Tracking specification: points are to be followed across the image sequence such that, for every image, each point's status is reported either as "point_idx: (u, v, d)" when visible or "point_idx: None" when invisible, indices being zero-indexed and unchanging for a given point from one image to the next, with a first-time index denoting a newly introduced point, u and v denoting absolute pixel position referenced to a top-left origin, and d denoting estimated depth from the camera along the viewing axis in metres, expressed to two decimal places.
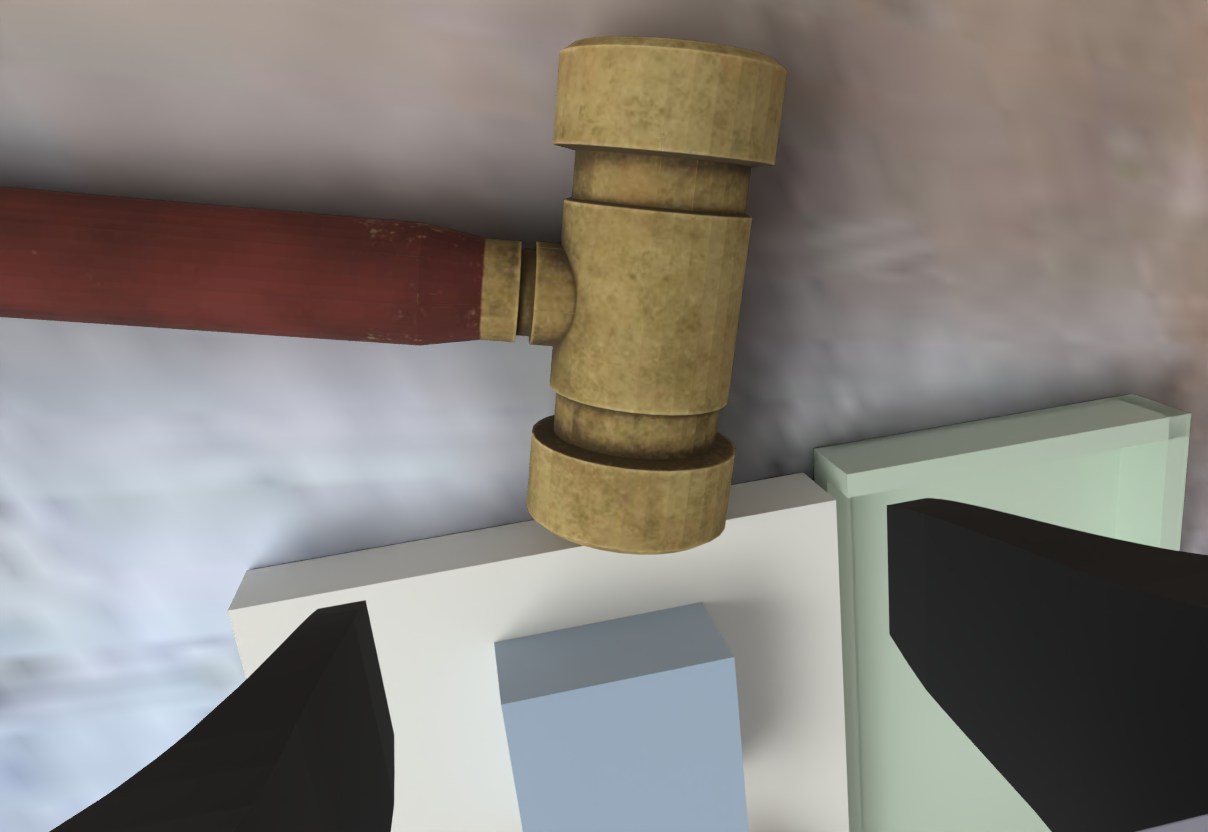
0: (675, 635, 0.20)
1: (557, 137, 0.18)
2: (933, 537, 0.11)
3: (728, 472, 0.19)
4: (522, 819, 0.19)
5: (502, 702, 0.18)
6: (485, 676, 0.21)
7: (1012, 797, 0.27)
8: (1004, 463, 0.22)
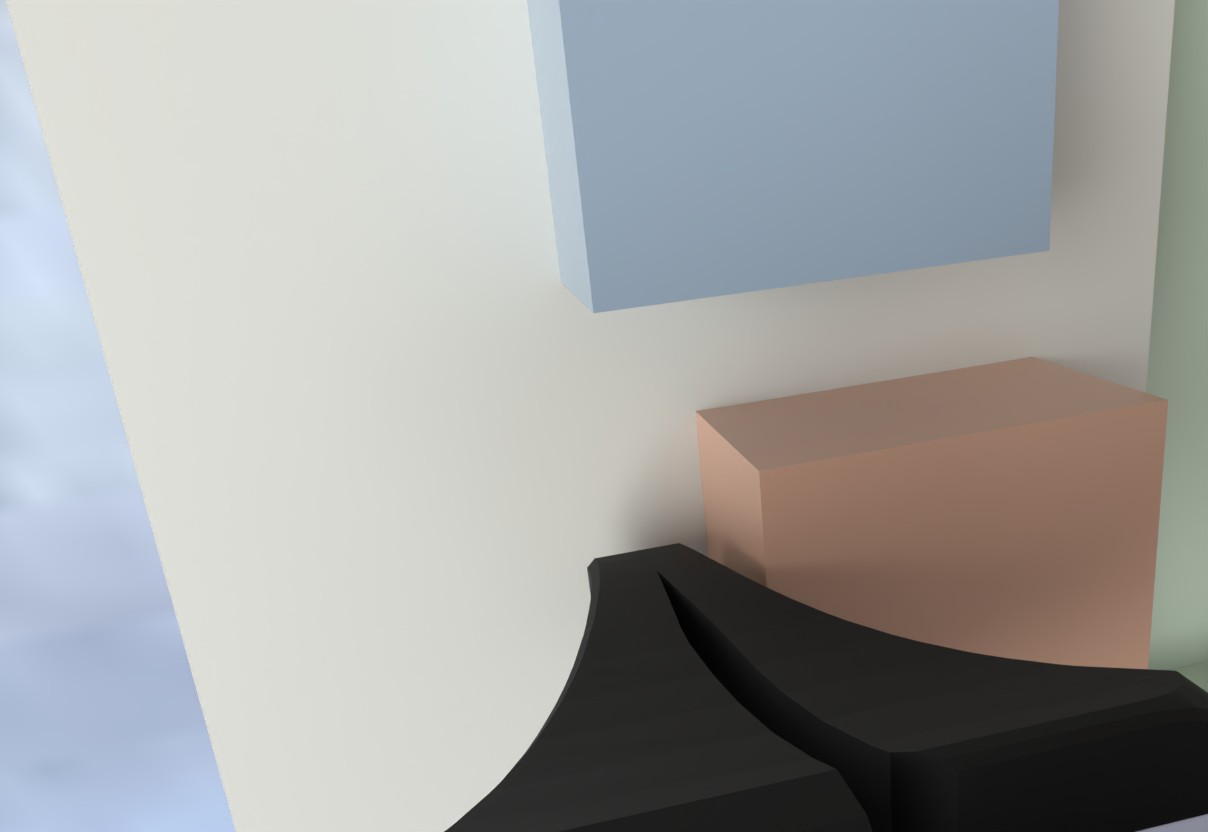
0: None
1: None
2: None
3: None
4: (572, 90, 0.08)
5: None
6: None
7: None
8: None
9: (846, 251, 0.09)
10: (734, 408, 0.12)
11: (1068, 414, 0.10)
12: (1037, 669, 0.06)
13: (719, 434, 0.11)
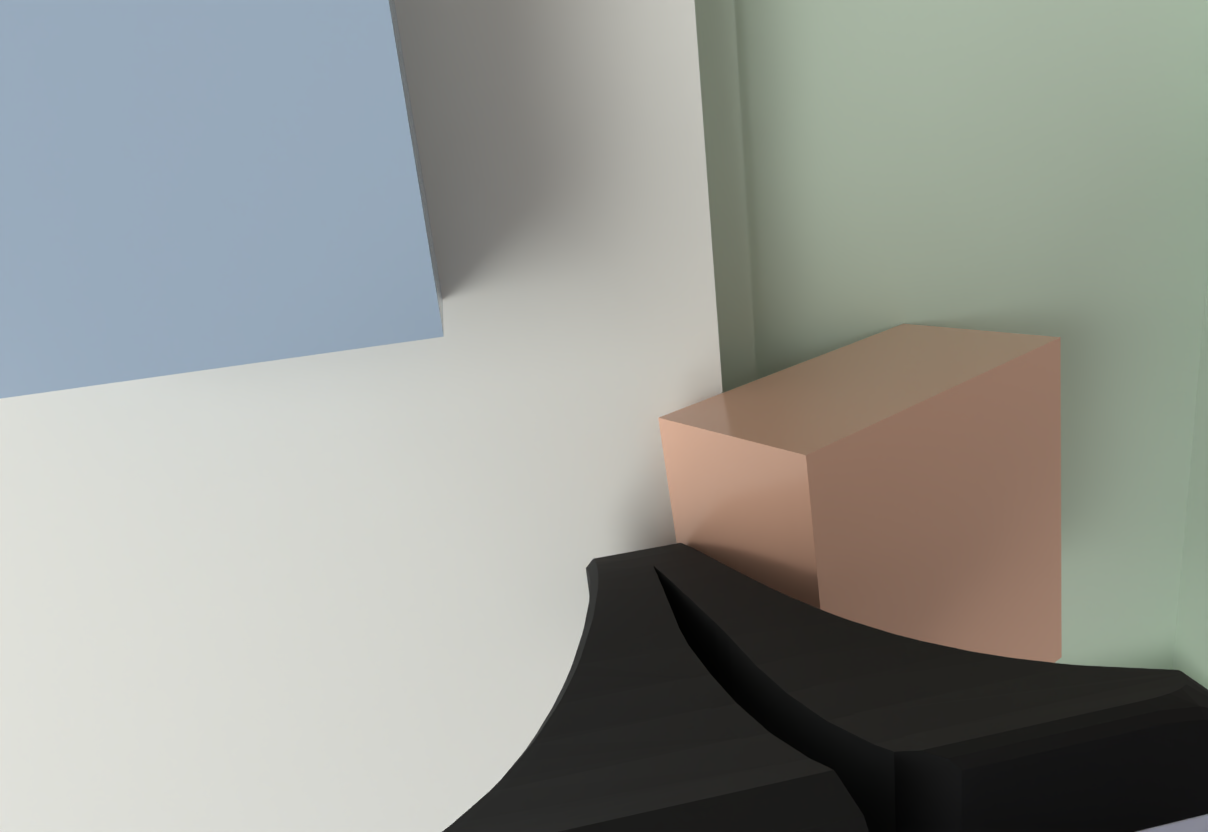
0: None
1: None
2: None
3: None
4: None
5: None
6: None
7: None
8: None
9: (189, 342, 0.08)
10: (695, 408, 0.11)
11: (1002, 360, 0.11)
12: (1040, 668, 0.06)
13: (714, 432, 0.10)
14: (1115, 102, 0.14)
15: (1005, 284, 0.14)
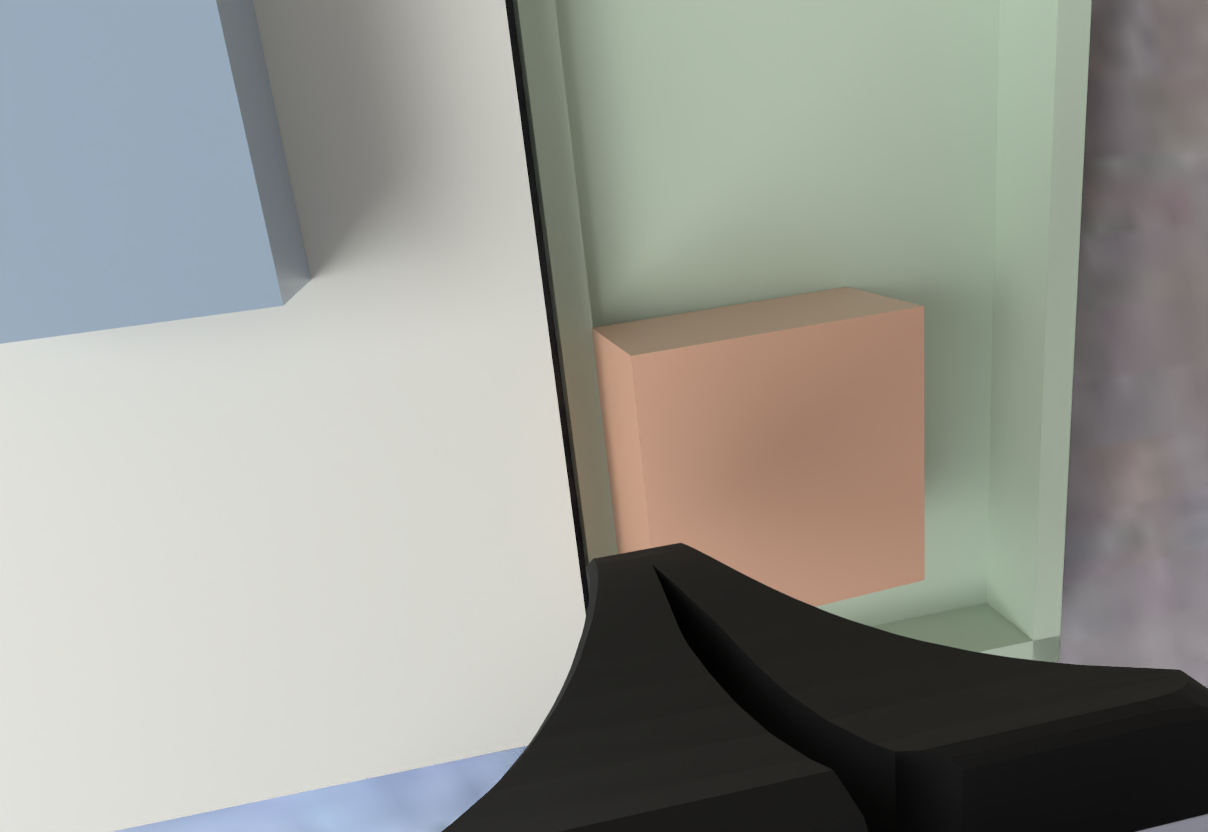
0: None
1: None
2: None
3: None
4: None
5: None
6: None
7: None
8: None
9: (83, 309, 0.11)
10: (620, 325, 0.16)
11: (853, 316, 0.14)
12: (1040, 668, 0.06)
13: (607, 339, 0.15)
14: (901, 113, 0.16)
15: (813, 267, 0.17)
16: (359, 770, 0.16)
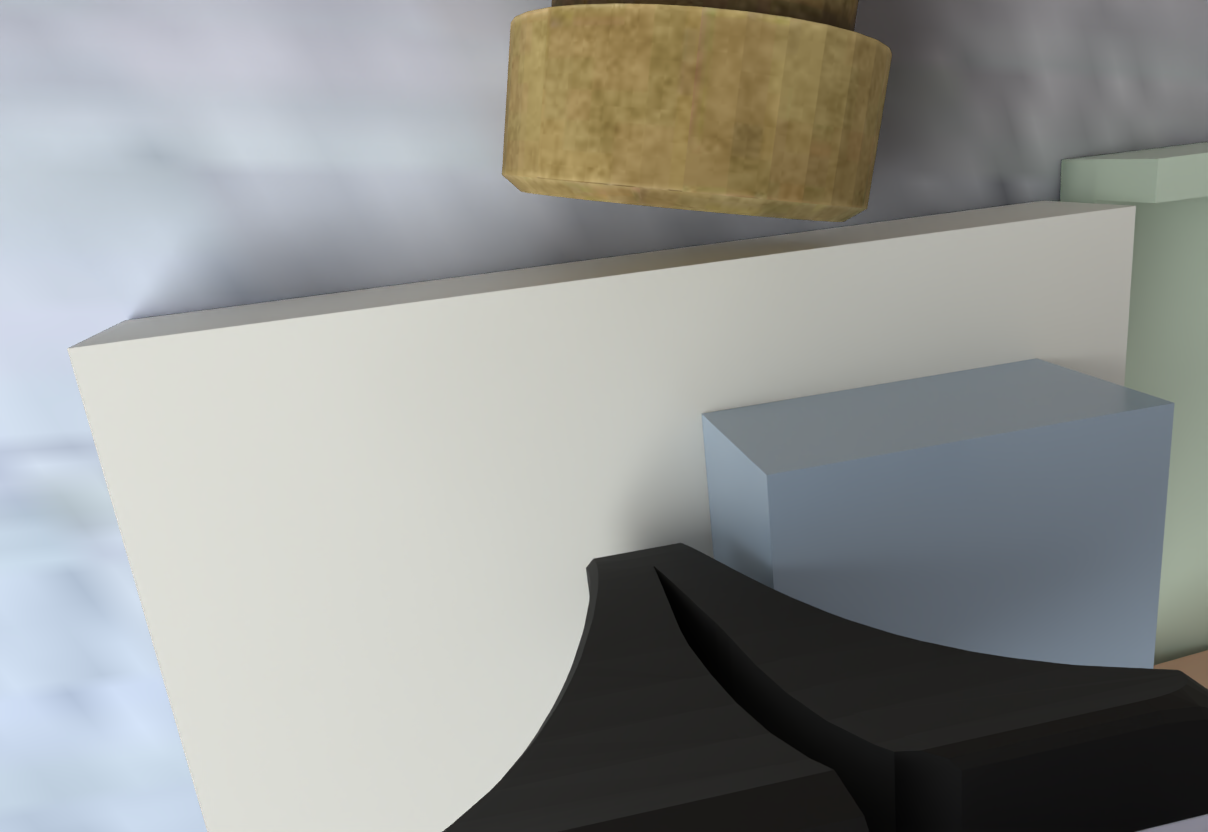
0: (1029, 389, 0.11)
1: None
2: None
3: (884, 76, 0.10)
4: None
5: (766, 472, 0.10)
6: (534, 499, 0.12)
7: None
8: None
9: None
10: None
11: None
12: (1040, 668, 0.06)
13: None
14: None
15: None
16: None
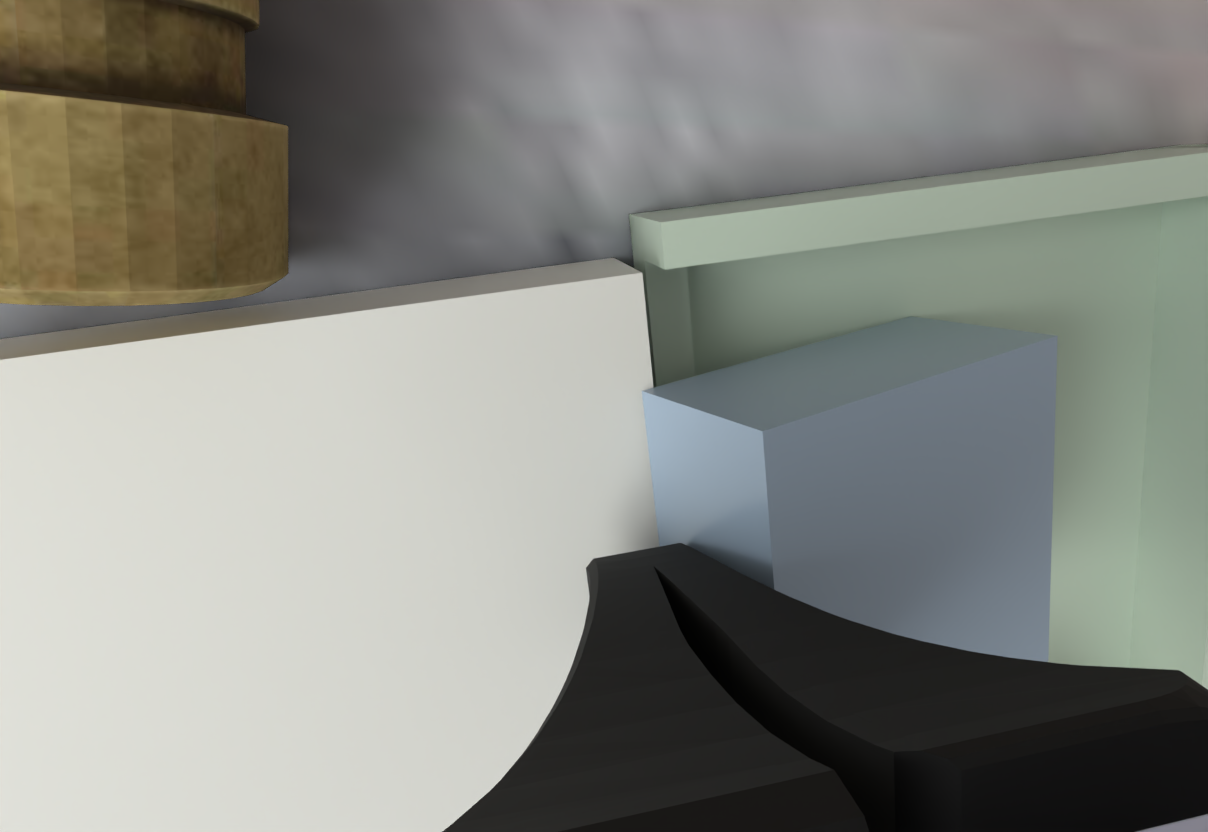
0: (929, 338, 0.12)
1: None
2: None
3: (215, 145, 0.09)
4: None
5: (759, 428, 0.10)
6: None
7: None
8: (957, 217, 0.12)
9: None
10: None
11: None
12: (1039, 668, 0.06)
13: None
14: None
15: None
16: None
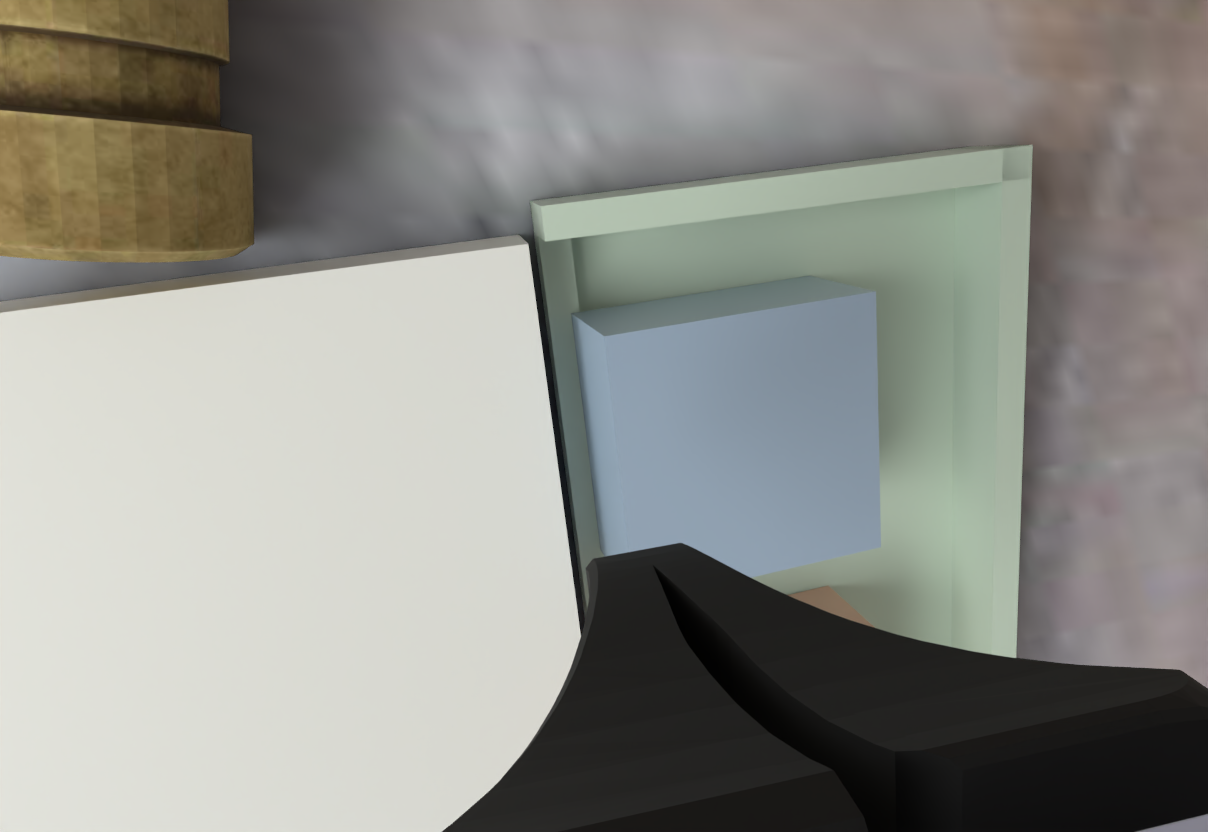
0: (793, 290, 0.17)
1: None
2: None
3: (196, 149, 0.13)
4: (624, 497, 0.15)
5: (604, 335, 0.15)
6: (31, 481, 0.15)
7: None
8: (770, 202, 0.16)
9: (770, 559, 0.17)
10: None
11: None
12: (1040, 668, 0.06)
13: None
14: None
15: (801, 573, 0.20)
16: None
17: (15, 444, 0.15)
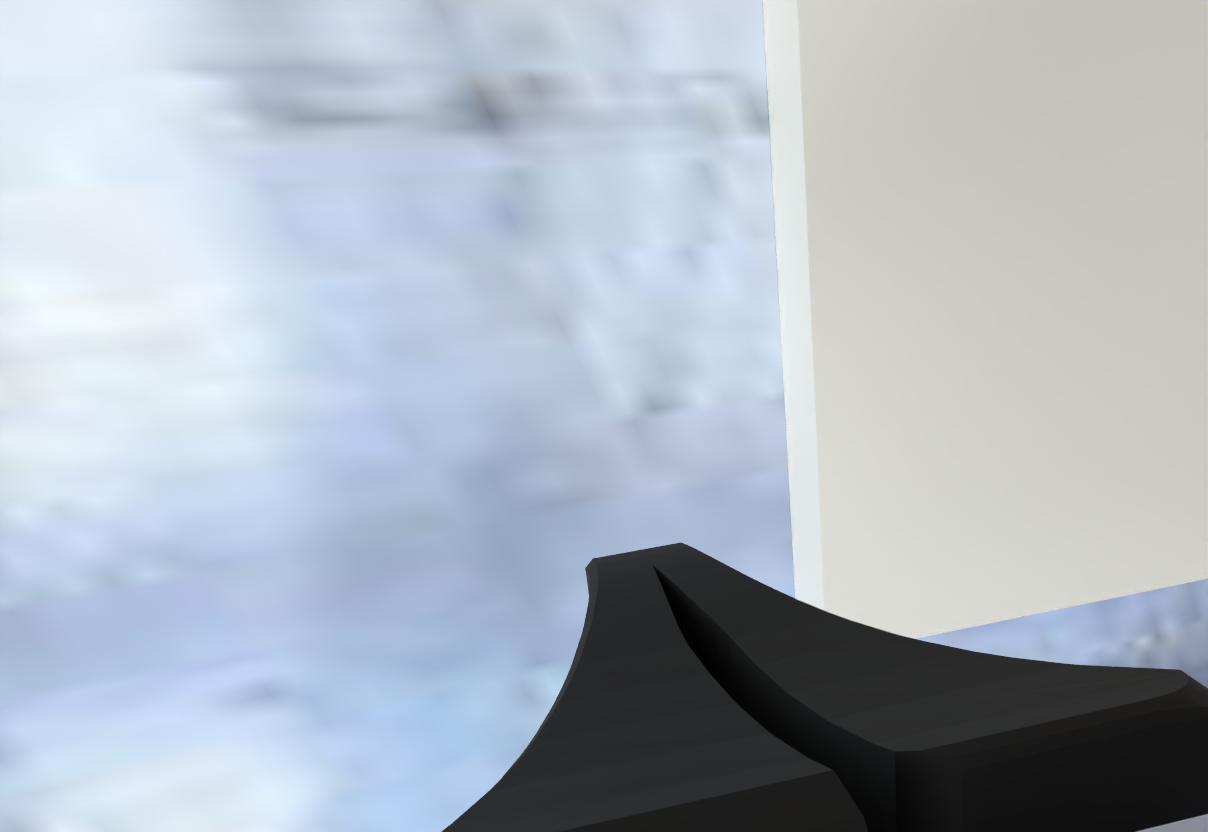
0: None
1: None
2: None
3: None
4: None
5: None
6: (1023, 93, 0.20)
7: None
8: None
9: None
10: None
11: None
12: (1040, 667, 0.06)
13: None
14: None
15: None
16: (1159, 582, 0.24)
17: (1022, 61, 0.19)
